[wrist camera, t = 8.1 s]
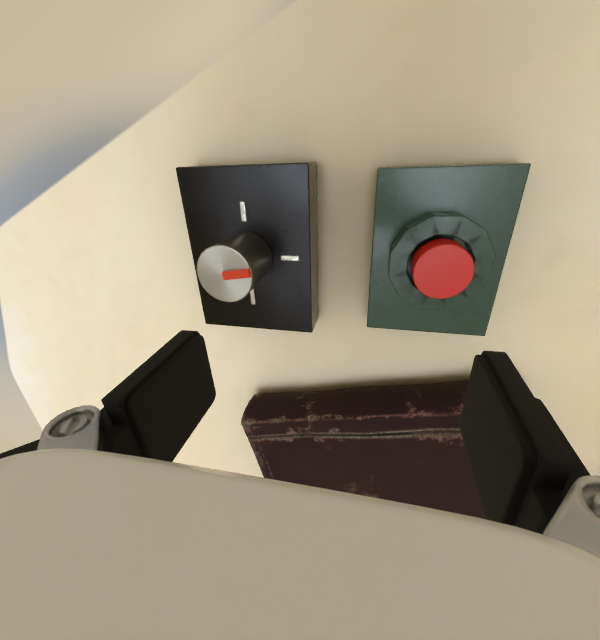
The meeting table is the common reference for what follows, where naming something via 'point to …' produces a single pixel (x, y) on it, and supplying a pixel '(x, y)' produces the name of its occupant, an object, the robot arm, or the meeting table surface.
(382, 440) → the diary
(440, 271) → the button
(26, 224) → the meeting table surface
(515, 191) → the button base
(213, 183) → the knob base
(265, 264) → the hob knob
